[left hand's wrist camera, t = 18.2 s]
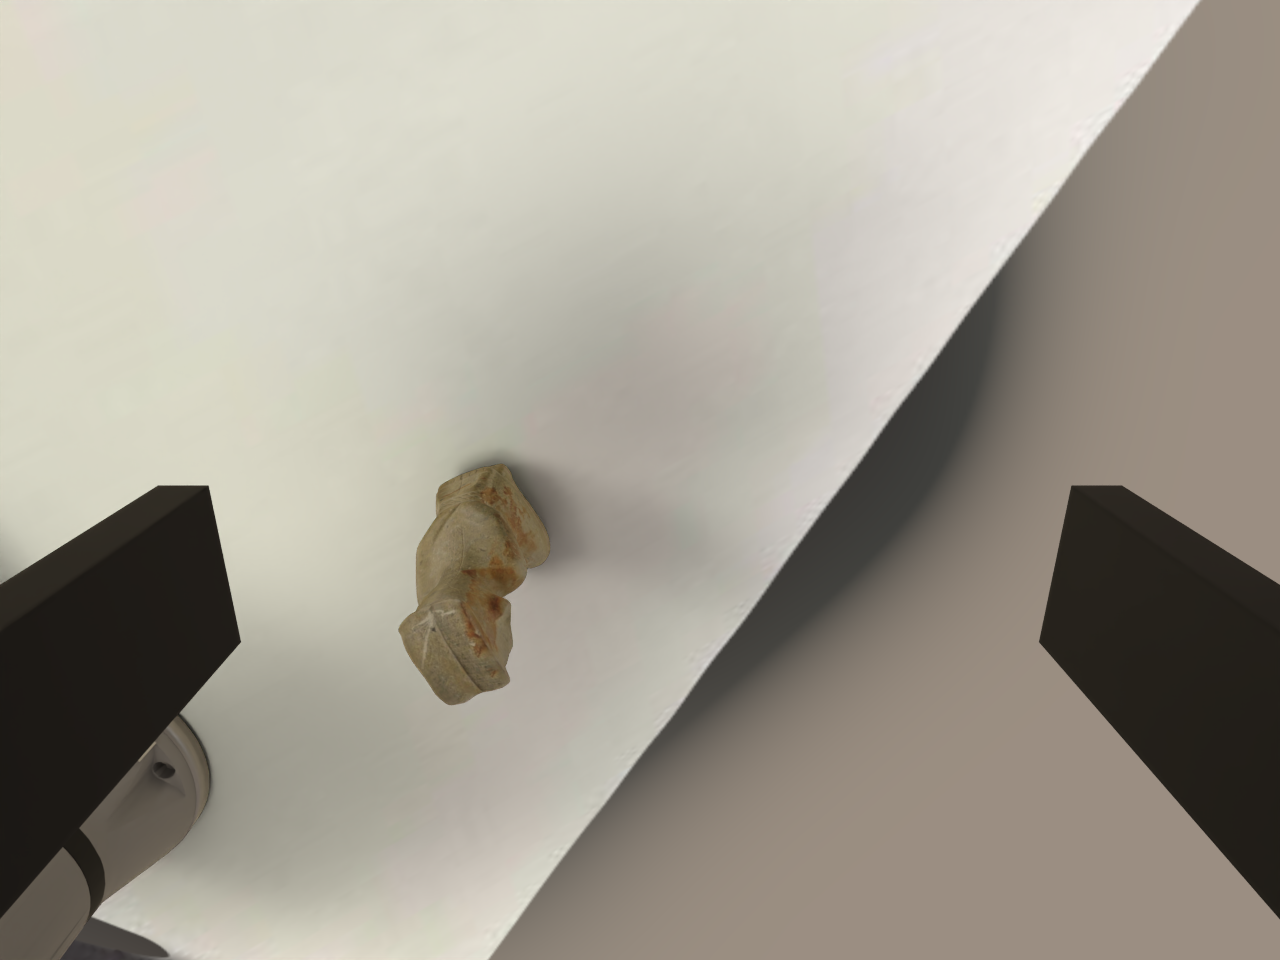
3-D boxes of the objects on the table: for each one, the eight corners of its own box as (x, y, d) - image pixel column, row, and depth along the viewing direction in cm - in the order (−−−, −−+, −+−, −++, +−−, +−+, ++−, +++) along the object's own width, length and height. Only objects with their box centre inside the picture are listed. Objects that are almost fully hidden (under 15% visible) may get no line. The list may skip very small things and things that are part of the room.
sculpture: (480, 574, 49) (416, 731, 35) (430, 472, 47) (341, 596, 33) (567, 545, 48) (537, 694, 34) (522, 440, 46) (470, 553, 32)
